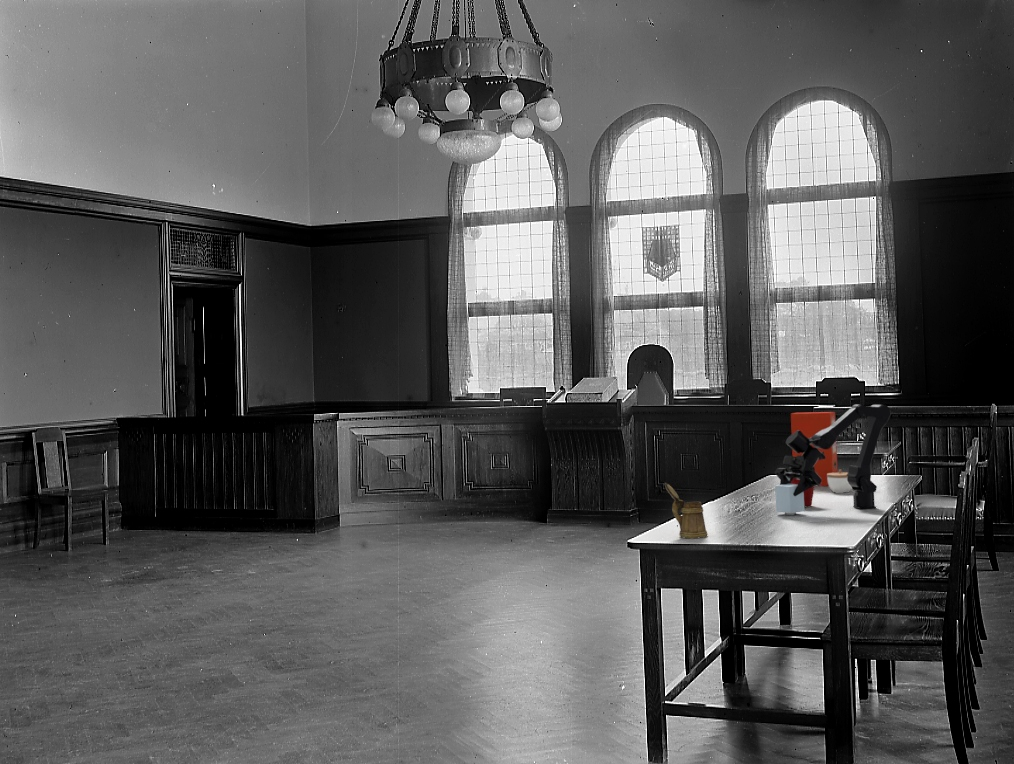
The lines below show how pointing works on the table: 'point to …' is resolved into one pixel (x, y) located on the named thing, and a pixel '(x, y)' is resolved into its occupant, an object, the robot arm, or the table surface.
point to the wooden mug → (688, 516)
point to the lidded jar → (838, 482)
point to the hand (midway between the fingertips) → (786, 494)
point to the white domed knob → (790, 513)
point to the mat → (814, 518)
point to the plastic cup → (805, 493)
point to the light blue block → (788, 499)
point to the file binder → (809, 427)
